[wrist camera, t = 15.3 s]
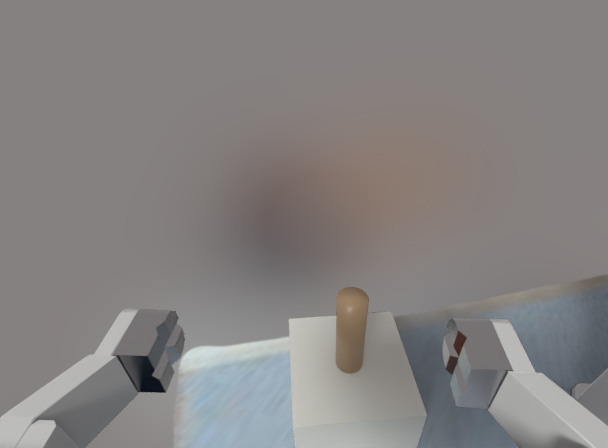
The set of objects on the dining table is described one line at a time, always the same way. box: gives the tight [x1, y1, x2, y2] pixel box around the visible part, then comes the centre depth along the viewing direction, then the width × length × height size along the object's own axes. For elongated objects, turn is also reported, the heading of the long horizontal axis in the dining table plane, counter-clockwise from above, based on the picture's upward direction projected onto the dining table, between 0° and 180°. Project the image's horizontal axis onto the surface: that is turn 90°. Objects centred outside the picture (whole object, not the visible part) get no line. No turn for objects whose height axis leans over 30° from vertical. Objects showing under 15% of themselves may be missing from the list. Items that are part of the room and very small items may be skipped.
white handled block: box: [289, 287, 427, 448], centre depth 40 cm, size 13×13×21 cm
